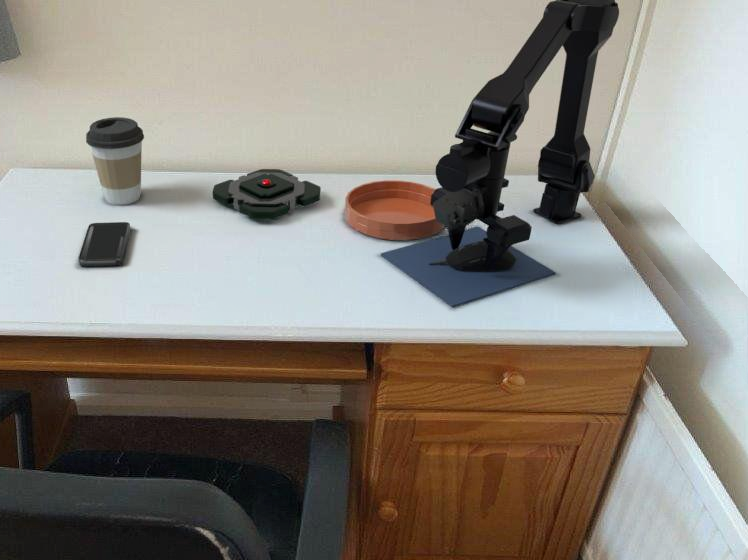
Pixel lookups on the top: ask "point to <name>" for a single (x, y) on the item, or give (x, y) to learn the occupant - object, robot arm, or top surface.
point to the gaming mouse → (475, 258)
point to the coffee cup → (117, 158)
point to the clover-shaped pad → (266, 193)
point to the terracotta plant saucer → (392, 210)
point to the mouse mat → (457, 283)
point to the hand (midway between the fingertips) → (470, 259)
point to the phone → (105, 244)
